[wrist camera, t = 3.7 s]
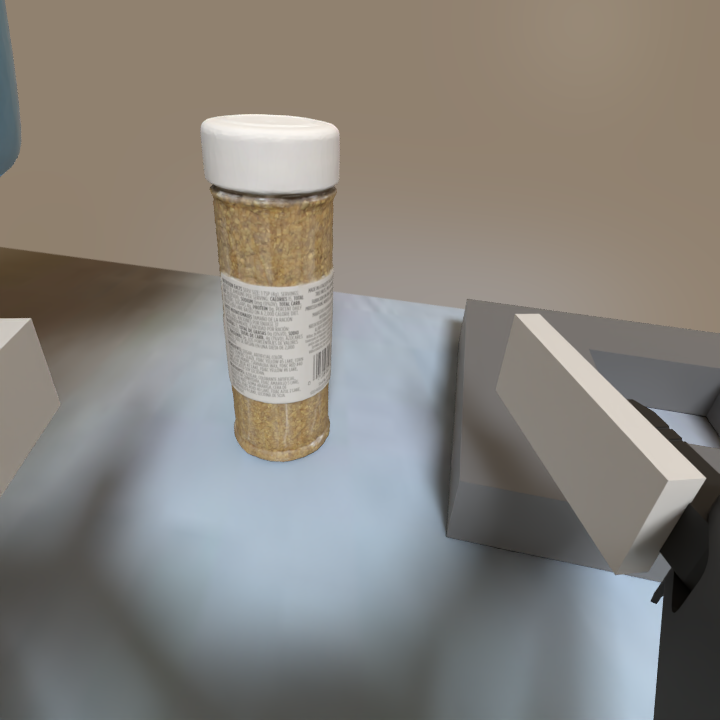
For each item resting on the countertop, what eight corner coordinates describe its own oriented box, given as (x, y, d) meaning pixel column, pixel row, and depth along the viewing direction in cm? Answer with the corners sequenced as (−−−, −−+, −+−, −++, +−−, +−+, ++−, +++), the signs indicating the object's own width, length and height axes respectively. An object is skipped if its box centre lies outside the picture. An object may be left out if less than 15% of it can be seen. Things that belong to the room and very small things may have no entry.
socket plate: (446, 536, 18) (463, 463, 16) (459, 340, 31) (469, 287, 29) (1073, 669, 15) (1189, 600, 13) (792, 390, 29) (828, 335, 27)
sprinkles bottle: (274, 394, 25) (261, 109, 18) (348, 424, 23) (365, 122, 16) (212, 443, 22) (166, 114, 15) (293, 482, 20) (285, 131, 13)
